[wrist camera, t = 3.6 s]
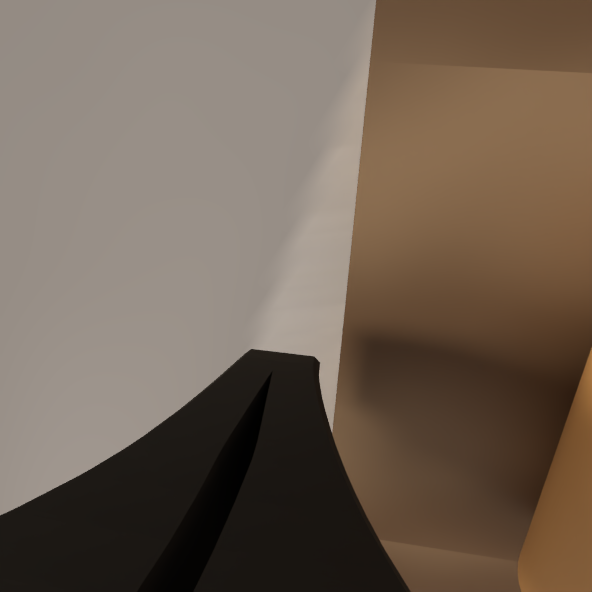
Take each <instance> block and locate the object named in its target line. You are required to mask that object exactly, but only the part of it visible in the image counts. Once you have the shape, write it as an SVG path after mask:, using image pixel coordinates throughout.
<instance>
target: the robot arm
mask: <svg viewBox="0 0 592 592" xmlns="http://www.w3.org/2000/svg"><path fill="white" fill-rule="evenodd" d="M319 367H320V362H319V361H318V360H317V359H316V358H315V357H313V356H305V355H297V354H288V353H280V352H271V351H263V350H255V349H251V350H249V351H248V352H247V353H245V354H244V355H243V356H242V357H241V358H240V359H239V360H237V361H236V362H235V363H234V364H233V365H232V366H231V367H230V368H228V369H227V370H226V371H225V372H224V373H223V374H222V375H221V376H220V377H218V378H217V379H216V380H215V381H214V382H213V383H211V384H210V385H209V386H208V387H207V388H205V389H204V390H203V391H202V392H201V393H199V394H198V395H197V396H196V397H194V398H193V399H192V400H191V401H190V402H188V403H187V404H186V405H185V406H183V407H182V408H181V409H180V410H178V411H177V412H176V413H174V414H173V415H172V416H170V417H169V418H168V419H166V420H165V421H163V422H162V423H161V424H159V425H158V426H157V427H155V428H154V429H153V430H151V431H150V432H148V433H147V434H146V435H144V436H143V437H141V438H140V439H139V440H137V441H136V442H134V443H133V444H131V445H129V446H128V447H126V448H125V449H123V450H122V451H120V452H119V453H117V454H115V455H113V456H112V457H110V458H109V459H107V460H105V461H104V462H102V463H100V464H99V465H97V466H95V467H94V468H92V469H90V470H88V471H87V472H85V473H83V474H81V475H80V476H78V477H76V478H74V479H72V480H70V481H68V482H66V483H64V484H62V485H60V486H58V487H56V488H54V489H52V490H51V491H49V492H47V493H45V494H43V495H41V496H39V497H37V498H35V499H33V500H31V501H29V502H27V503H25V504H23V505H21V506H20V507H18V508H15V509H14V510H11V511H9V512H7V513H5V514H3V515H0V592H411V591H410V590H409V588H408V586H407V585H406V583H405V582H404V580H403V578H402V577H401V575H400V573H399V572H398V570H397V569H396V567H395V565H394V564H393V562H392V560H391V559H390V557H389V556H388V554H387V552H386V551H385V549H384V547H383V545H382V544H381V542H380V540H379V538H378V536H377V534H376V533H375V531H374V529H373V527H372V525H371V523H370V521H369V519H368V518H367V516H366V514H365V512H364V510H363V507H362V505H361V503H360V501H359V499H358V497H357V495H356V493H355V491H354V489H353V486H352V484H351V482H350V480H349V477H348V475H347V473H346V470H345V468H344V465H343V463H342V460H341V457H340V455H339V452H338V450H337V447H336V444H335V441H334V438H333V435H332V432H331V429H330V426H329V422H328V419H327V415H326V412H325V408H324V404H323V400H322V395H321V389H320V383H319Z"/></svg>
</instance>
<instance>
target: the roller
mask: <svg viewBox="0 0 592 592" xmlns="http://www.w3.org/2000/svg"><path fill="white" fill-rule="evenodd" d="M518 581H519V585H520V589H521V592H592V348H591V351H590V354H589V356H588V359H587V362H586V365H585V368H584V371H583V374H582V377H581V380H580V382H579V385H578V388H577V391H576V394H575V397H574V400H573V403H572V406H571V408H570V411H569V414H568V417H567V420H566V423H565V426H564V429H563V432H562V435H561V437H560V440H559V443H558V446H557V449H556V452H555V455H554V458H553V461H552V463H551V466H550V469H549V472H548V475H547V478H546V481H545V484H544V487H543V489H542V492H541V495H540V498H539V501H538V504H537V507H536V510H535V513H534V516H533V518H532V521H531V524H530V527H529V530H528V533H527V536H526V539H525V542H524V544H523V547H522V550H521V553H520V557H519V560H518Z"/></svg>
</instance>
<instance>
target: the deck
mask: <svg viewBox="0 0 592 592" xmlns="http://www.w3.org/2000/svg"><path fill="white" fill-rule="evenodd" d="M591 348H592V0H376V9H375V19H374V29H373V39H372V48H371V58H370V68H369V78H368V88H367V98H366V108H365V117H364V127H363V137H362V147H361V157H360V167H359V177H358V186H357V196H356V206H355V216H354V226H353V236H352V246H351V256H350V265H349V275H348V285H347V295H346V305H345V315H344V325H343V334H342V344H341V354H340V364H339V374H338V384H337V394H336V403H335V413H334V423H333V433H332V435H333V438H334V441H335V444H336V447H337V450H338V452H339V455H340V457H341V460H342V463H343V465H344V468H345V470H346V473H347V475H348V477H349V480H350V482H351V484H352V486H353V489H354V491H355V493H356V495H357V497H358V499H359V501H360V503H361V505H362V507H363V510H364V512H365V514H366V516H367V518H368V519H369V521H370V523H371V525H372V527H373V529H374V531H375V533H376V534H377V536H378V538H379V540H380V542H381V544H382V545H383V547H384V549H385V551H386V552H387V554H388V556H389V557H390V559H391V560H392V562H393V564H394V565H395V567H396V569H397V570H398V572H399V573H400V575H401V577H402V578H403V580H404V582H405V583H406V585H407V586H408V588H409V590H410V591H411V592H521V589H520V585H519V581H518V560H519V557H520V553H521V550H522V547H523V544H524V542H525V539H526V536H527V533H528V530H529V527H530V524H531V521H532V518H533V516H534V513H535V510H536V507H537V504H538V501H539V498H540V495H541V492H542V489H543V487H544V484H545V481H546V478H547V475H548V472H549V469H550V466H551V463H552V461H553V458H554V455H555V452H556V449H557V446H558V443H559V440H560V437H561V435H562V432H563V429H564V426H565V423H566V420H567V417H568V414H569V411H570V408H571V406H572V403H573V400H574V397H575V394H576V391H577V388H578V385H579V382H580V380H581V377H582V374H583V371H584V368H585V365H586V362H587V359H588V356H589V354H590V351H591Z"/></svg>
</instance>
